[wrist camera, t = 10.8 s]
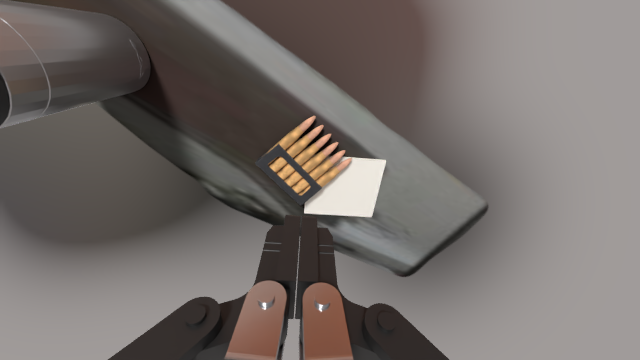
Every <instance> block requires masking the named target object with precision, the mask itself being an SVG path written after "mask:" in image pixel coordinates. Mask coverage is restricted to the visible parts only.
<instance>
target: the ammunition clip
mask: <svg viewBox="0 0 640 360" xmlns="http://www.w3.org/2000/svg"><path fill="white" fill-rule="evenodd" d="M315 118H316V116H313V117H310V118H309V119H307V120H305V121H304V122H303V123H301V124H300V125H299V126H298V127H296V128H295V129H294V130H292V131H290V132H289V133H288V134H287V135H286V136H285V137H284V138H283V139H281V140H280V141H279V142H278V143H277V144H276V145H274V146H273V147H272V148H271V149H270V150H268V151H267V152H266V153H265V154H263V155H262V156H261V157H260V158H258V160H257V161H256V165H257V166H258V167H260V168H261V169H262V170H263V171H264V172H265V173H266V174H267V175H268V176H269V177H270V178H271V179H272V180H274V181H275V182H276V183H277V184H278V185H279V186H280V187H281V188H282V189H283V190H284V191H285V192H287V193H288V194H289V195H290V196H291V197H292V198H293V199H294V200H295V201H296V202H297V203H298V204H299V205H303V204H304V203H305V202H307V201H308V200H309V199H310V198H311V197H312V196H314V195H315V194H316V193H317V192H318V191H320V190H321V189H322V187H323V186H325V185H326V184H327V183H328V182H330V181H331V180H332V179H334V178H335V177H336V175H337V174H339V173H340V172H341V171H342V170H343V169H344V168H346V167H347V166H348V164H349V163H350V162H351V160H352V158H349V159H346V160H344V161H342V162H341V163H339V164H338V165H337V166H335V167H333V168H332V169H330V170H329V168H330V167H331V166H333V165H334V164H335V163H336V162H337V161H338V160H339V159H340V158H341V157H342V156H343V155H344V153H345V150H343V151H340V152H338V153H336V154H335V155H333V156H332V157H330V158H329V159H327V160H326V161H324V162H322V161H323V160H324V159H325V158H326V157H327V156H328V155H329V154H330V153H331V152H332V151H333V150H334V149H335V148H336V147H337V145H338V142H336V143H333V144H331V145H329V146H328V147H326V148H325V149H324V150H322V151H321V152H319V153H318V154H316V155H314V154H315V153H316V152H317V151H318V150H319V149H320V148H321V147H322V146H323V145H324V144H325V143H326V142H327V141H328V140H329V138H330V137H331V134H328V135H325V136H323V137H322V138H320V139H319V140H318V141H316V142H315V143H314V144H312V145H311V146H309V147H307V148H306V146H307V145H308V144H309V143H310V142H311V141H312V140H313V139H314V138H315V137H316V136H317V135H318V134H319V133H320V132H321V130H322V129H323V127H324V125H321V126H318V127H316V128H315V129H313V130H312V131H310V132H309V133H308V134H307V135H305V136H304V137H303V138H301V139H299V140H298V141H297V142H296V143H294V142H295V141H296V140H297V139H298V138H299V137H300V136H301V135H302V134H303V133H304V131H306V130H307V129H308V128H309V127H310V125H311V124H312V123H313V122H314V120H315ZM293 143H294V144H293ZM292 144H293V145H292ZM291 145H292V146H291ZM290 146H291V147H290ZM289 147H290V148H289ZM288 148H289V149H288ZM305 148H306V149H305ZM303 149H305V150H304V151H302V150H303ZM301 151H302V152H301ZM300 152H301V153H300ZM299 153H300V154H299ZM298 154H299V155H298ZM296 155H298V156H296ZM313 155H314V156H313ZM312 156H313V157H312ZM277 157H278V158H277ZM311 157H312V158H311ZM276 158H277V159H276ZM310 158H311V159H310ZM275 159H276V160H275ZM274 160H275V161H274ZM273 161H274V162H273ZM306 161H307V162H306ZM272 162H273V163H272ZM305 162H306V163H305ZM321 162H322V163H321ZM287 163H288V164H287ZM320 163H321V164H320ZM286 164H287V165H286ZM285 165H286V166H285ZM284 166H285V167H284ZM315 167H316V168H315ZM281 168H282V169H281ZM280 169H281V170H280ZM294 171H295V172H294Z"/></svg>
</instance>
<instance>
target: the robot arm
mask: <svg viewBox="0 0 640 360" xmlns="http://www.w3.org/2000/svg"><path fill="white" fill-rule="evenodd" d="M150 69H151V66H150V59H149V56H148V53H147V51H146V49H145V47H144V45H143V43H142V42H141V40H140V39H139V38H138V36H137V35H136V34H135V33H134V32H133V31H132V30H131V29H130V28H129V27H128V26H127V25H125V24H124V23H123V22H121V21H120V20H118V19H116V18H114V17H112V16H109V15H106V14H101V13H94V12H87V11H80V10H74V9H67V8H60V7H53V6H46V5H39V4H31V3H24V2H17V1H10V0H0V128H3V127H7V126H10V125H14V124H18V123H21V122H25V121H29V120H32V119H35V118H39V117H43V116H46V115H50V114H54V113H57V112H61V111H65V110H69V109H72V108H76V107H79V106H83V105H87V104H91V103H95V102H98V101H102V100H106V99H109V98H113V97H117V96H121V95H125V94H128V93H132V92H135V91H138V90H140V89H141V88H142V87H144V86H145V85H146V83H147V82H148V79H149V76H150ZM300 219H301V216H296V215H286V216H285V221H284V226H279V225H273V226H272V228H271V229H270V230H269V231H268V232H267V236H266V240H265V244H264V248H263V252H262V256H261V260H260V264H259V268H258V272H257V277H256V280H255V283H254V285H253V287H252V288H251V289H250V290H249V292H247V293H246V294H245V295H244V296H242V297H240V298H238V299H235V300H232V301H228V302H224V303H221V304H218V303H217V301H215V300H214V299H212V298H210V297H199V298H195V299H192V300H190V301H188V302H187V303H185V304H184V305H183V306H181V307H180V308H179V309H177V310H176V311H174V312H173V313H171V314H170V315H169V316H167V317H166V318H165V319H163V320H162V321H160V322H159V323H158V324H156V325H155V326H154V327H152V328H151V329H150V330H148V331H147V332H145V333H144V334H143V335H141V336H140V337H138V338H137V339H136V340H134V341H133V342H132V343H131V344H129V345H128V346H126V347H125V348H123V349H122V350H121V351H119V352H118V353H116V354H115V355H114V356H112V357H111V358H110V359H108V360H282V356H283V350H284V344H285V339H286V335H287V328H288V319H293V318H294V304H295V290H296V277H297V262H298V249H299V234H300ZM295 318H296V319H300V335H299V360H449V359H448V358H447V357H446V356H445V355H444V354H443V353H442V352H441V351H439V350H438V349H437V348H436V347H435V346H434V345H433V344H432V343H431V342H430V341H429V340H427V338H426V337H425V336H424V335H422V334H421V333H420V332H419V331H418V330H417V329H416V328H415V327H414V326H413V325H412V324H411V323H410V322H409V321H408V320H407V319H405V318H404V317H403V316H402V315H401V314H400V313H399V312H398V311H397V310H395V309H394V308H393V307H391V306H389V305H386V304H382V303H381V304H380V303H378V304H374V305H372V306H370V307H369V308H365V307H362V306H360V305H357V304H354V303H352V302H350V301H348V300H347V299H346V298H345V297H344V296H343V295H342V294H341V292H340V291H339V289H338V285H337V278H336V269H335V257H334V247H333V237H332V235H331V233H330V232H329V230H328V228H317V217H314V216H302V223H301V238H300V253H299V269H298V284H297V298H296V314H295Z"/></svg>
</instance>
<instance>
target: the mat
mask: <svg viewBox="0 0 640 360" xmlns="http://www.w3.org/2000/svg"><path fill="white" fill-rule="evenodd" d="M313 156H314V155H313ZM313 156H312V157H313ZM312 157H311V158H312ZM330 157H332V156H327V157H326V158H325V159H324V160H323V161H322V162H324V161H326V160H327V159H329V158H330ZM311 158H310V159H311ZM349 158H352V157H341V158H340V159H339V160H338V161H337V162H336V163H335V164H334V165H333V166H331V167H330V168H329V170H330V169H332V168H333V167H335V166H337V165H338V164H339V163H341V162H342V161H344V160H346V159H349ZM322 162H321V163H322ZM321 163H320V164H321ZM385 164H386V160H379V159H366V158H352V160H351V162H350V163H349V164H348V166H347V167H346V168H344V169H343V170H342V171H341V172H340V173H339V174H337V175H336V177H335V178H334V179H332V180H331V181H330V182H328V183H327V184H326V185H325V186H323V187H322V189H321V190H320V191H318V192H317V193H316V194H315V195H314V196H312V197H311V198H310V199H309V200H308V201H307V202H305V209H304V213H308V214H325V215H342V216H360V217H372V214H373V210H374V206H375V202H376V199H377V195H378V191H379V187H380V183H381V179H382V175H383V171H384V168H385ZM315 168H316V167H315Z"/></svg>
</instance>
